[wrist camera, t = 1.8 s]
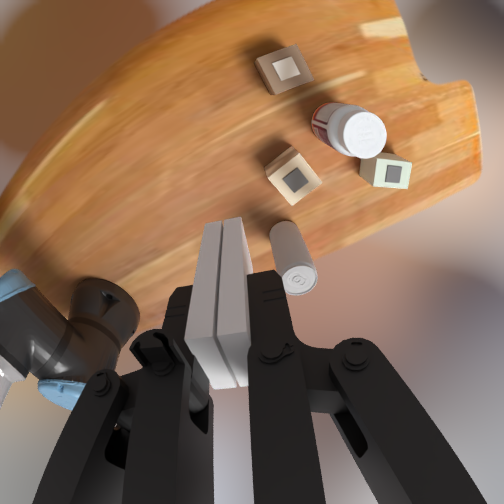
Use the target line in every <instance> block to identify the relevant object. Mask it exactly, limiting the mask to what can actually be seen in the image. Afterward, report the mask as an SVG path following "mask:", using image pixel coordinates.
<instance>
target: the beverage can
mask: <svg viewBox="0 0 504 504" xmlns="http://www.w3.org/2000/svg"><path fill="white" fill-rule="evenodd" d="M269 236H270V242H271V247H272V252H273V256H274V261H275V265H276V270H277V273H278V274H279V275H280V276H281V277H282V280H283V285H284V290H285V292H286V293H288V294H291V295H302V294H305V293H307V292H309V291H310V290H312V289H313V288H314V286H315V285H316V283H317V271H316V268H315V265H314V263H313V260H312V258H311V255H310V253H309V251H308V248H307V246H306V244H305V242H304V240H303V238H302V235H301V233H300V231H299V229H298V227H297V226H296V225H295V224H294V223H293V222H290V221H282V222H279V223H277V224H275V225H274V226H273V227H272V229H271V231H270V234H269Z"/></svg>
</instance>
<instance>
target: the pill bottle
mask: <svg viewBox="0 0 504 504" xmlns="http://www.w3.org/2000/svg"><path fill="white" fill-rule="evenodd" d="M311 122H312V129H313V132H314V134H315V135H316V137H317V138H318V139H319V140H321V141H322V142H324V143H325V144H327V145H329V146H330V147H332V148H333V149H335V150H337V151H338V152H340V153H342V154H344V155H347V156H356V157H358V158H363V159H367V158H372V157H374V156H376V155H377V154H379V153H380V152H381V150H382V149H383V147H384V145H385V142H386V129H385V126H384V124H383V122H382V121H381V119H380V118H379V117H378V116H376V115H375V114H373V113H371V112H368V111H367V110H365V109H364V108H362V107H360V106H357V105H350V104H342V103H333V102H331V103H325V104H323V105H321V106H319V107H318V108H317V109H316V110H315V112H314V114H313V116H312V121H311Z"/></svg>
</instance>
